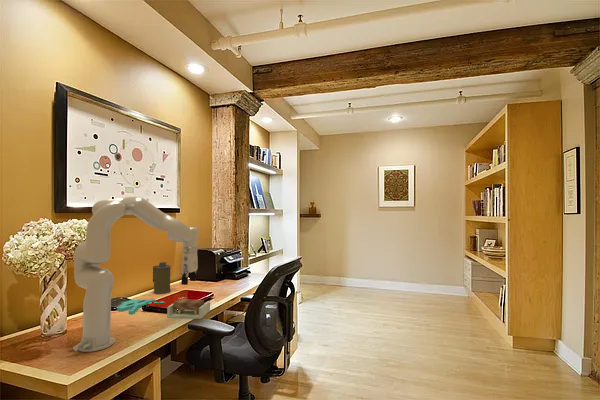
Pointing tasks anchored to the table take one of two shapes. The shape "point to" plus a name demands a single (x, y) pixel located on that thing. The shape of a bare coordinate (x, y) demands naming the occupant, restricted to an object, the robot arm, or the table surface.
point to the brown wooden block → (188, 304)
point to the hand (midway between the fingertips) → (188, 282)
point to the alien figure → (135, 305)
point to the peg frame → (188, 312)
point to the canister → (161, 278)
